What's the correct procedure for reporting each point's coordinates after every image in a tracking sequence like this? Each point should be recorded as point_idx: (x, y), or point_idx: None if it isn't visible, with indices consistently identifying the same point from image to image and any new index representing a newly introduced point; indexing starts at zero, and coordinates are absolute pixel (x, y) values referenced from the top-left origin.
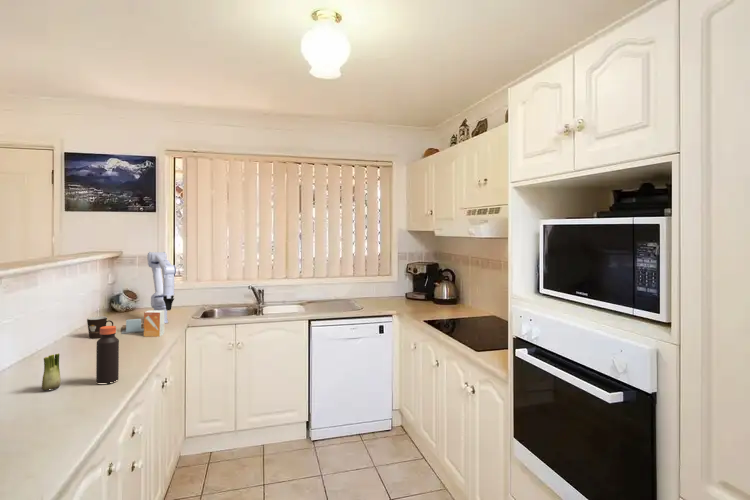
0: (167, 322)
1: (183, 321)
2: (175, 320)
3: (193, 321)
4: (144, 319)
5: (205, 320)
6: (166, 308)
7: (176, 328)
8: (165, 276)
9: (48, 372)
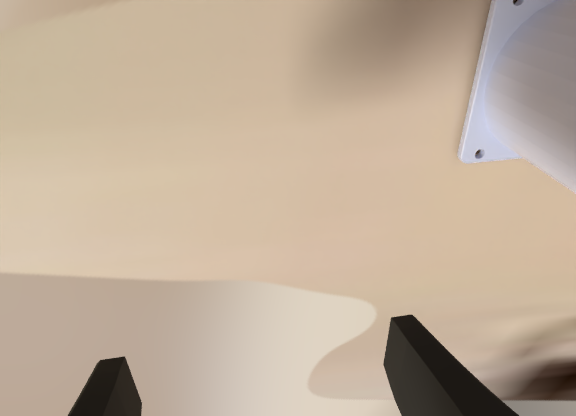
0: (460, 159)
1: (466, 277)
2: (557, 213)
3: None
4: None
5: None
6: (76, 404)
7: (143, 259)
8: None
9: None
